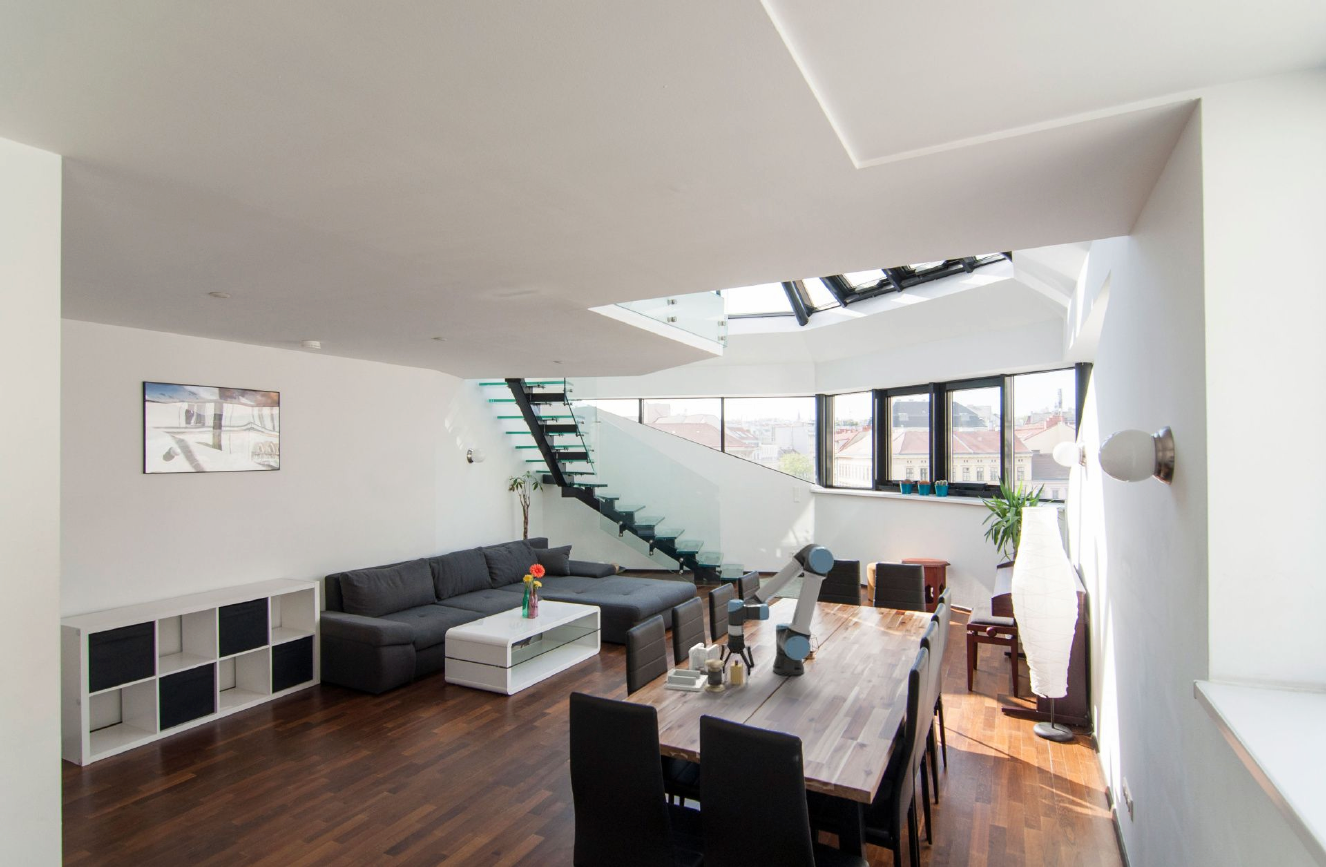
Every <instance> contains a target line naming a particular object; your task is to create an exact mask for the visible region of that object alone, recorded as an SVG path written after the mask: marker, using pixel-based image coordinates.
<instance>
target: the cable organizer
mask: <svg viewBox="0 0 1326 867" xmlns="http://www.w3.org/2000/svg"><path fill="white" fill-rule="evenodd" d="M719 646H720V645H719V644H718V643H717V644H715V643H714V644H713V645H711V646H710V647H709V648H707V647H706V648H705V644H704V643H703V642H699V643H696V645H694V646H692V647H690V649H689V650H688V664H689V666H688V670H694V671H697V670H699V669H700V668H703V670H705V672H706V673H707V674H708V669H710V667H707V666H705V661H707V660H712V659H716V660H720V649H719Z"/></svg>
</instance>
